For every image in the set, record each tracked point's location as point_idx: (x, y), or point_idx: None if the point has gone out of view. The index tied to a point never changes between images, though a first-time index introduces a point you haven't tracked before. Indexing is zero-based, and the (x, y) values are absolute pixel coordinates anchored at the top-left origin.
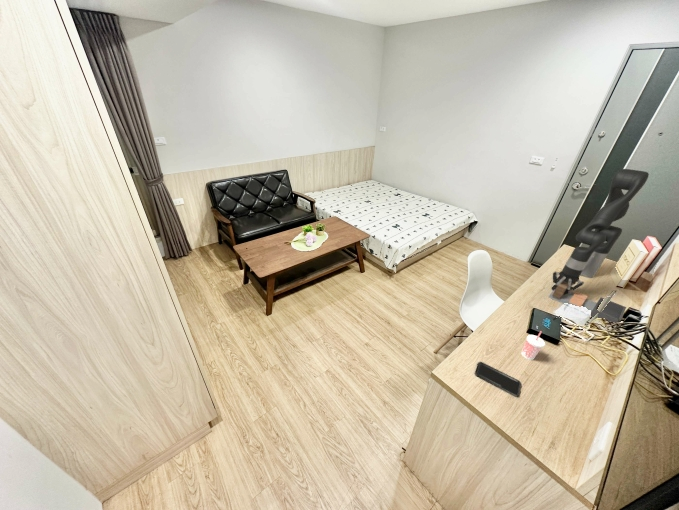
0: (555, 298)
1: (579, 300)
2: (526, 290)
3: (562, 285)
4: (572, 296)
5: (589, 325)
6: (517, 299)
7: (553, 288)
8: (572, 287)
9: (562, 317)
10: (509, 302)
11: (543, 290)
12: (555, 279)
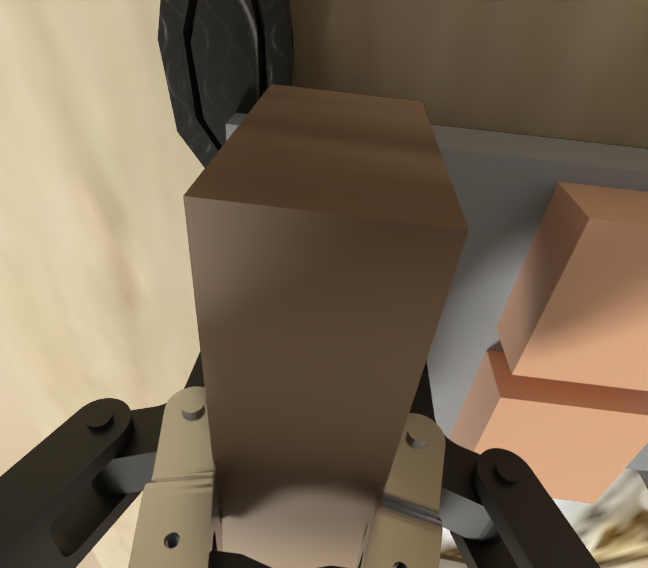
0: None
1: (573, 458)
2: (49, 399)
3: (278, 554)
4: (505, 288)
5: (599, 535)
6: None
7: (209, 145)
8: (458, 517)
9: None
10: (104, 564)
11: (145, 279)
12: (85, 554)
